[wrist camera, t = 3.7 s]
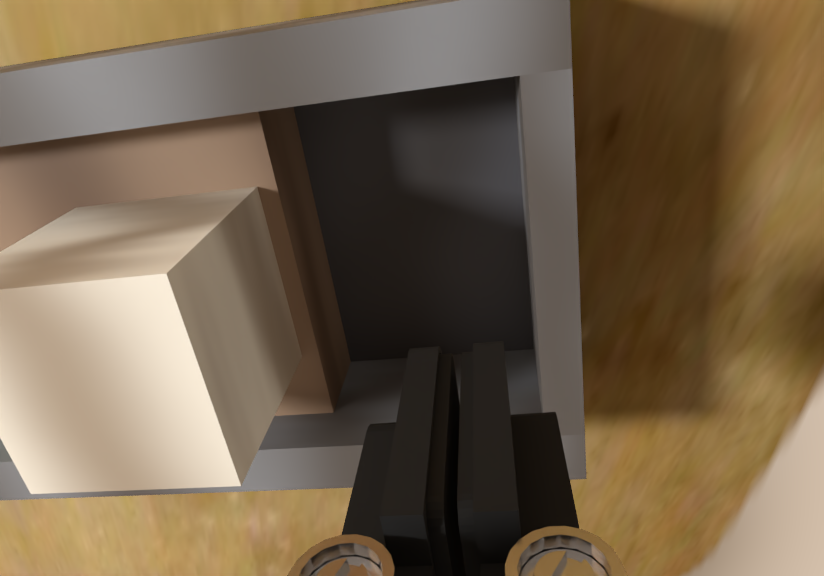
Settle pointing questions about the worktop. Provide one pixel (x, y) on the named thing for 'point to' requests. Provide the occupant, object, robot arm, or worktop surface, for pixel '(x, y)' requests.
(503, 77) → the tray
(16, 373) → the block
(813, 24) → the worktop surface
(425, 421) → the robot arm
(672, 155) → the worktop surface
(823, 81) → the worktop surface
